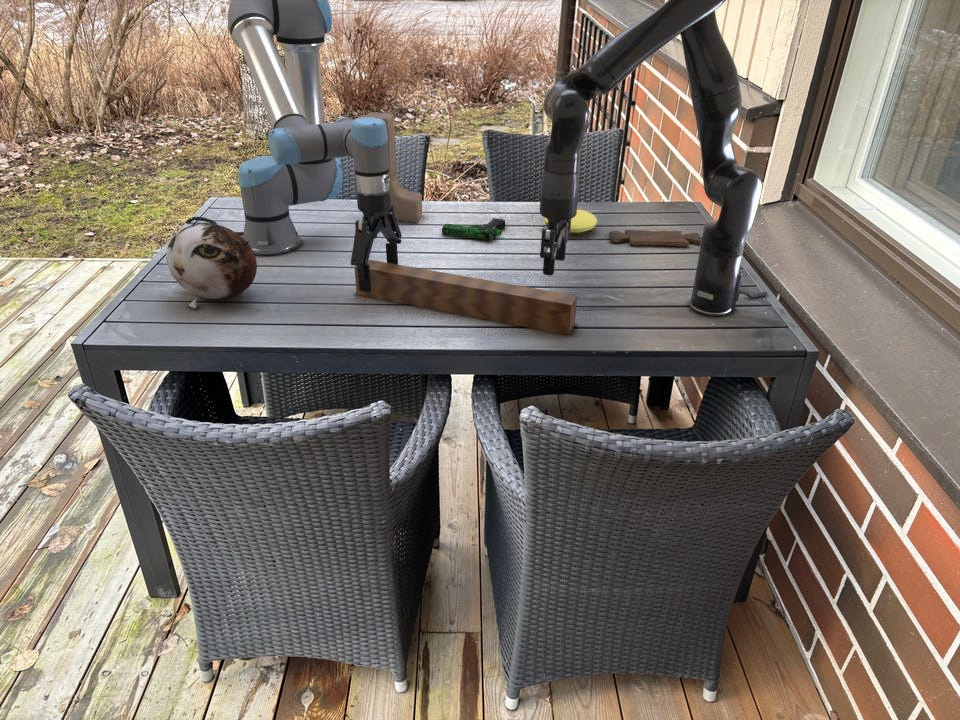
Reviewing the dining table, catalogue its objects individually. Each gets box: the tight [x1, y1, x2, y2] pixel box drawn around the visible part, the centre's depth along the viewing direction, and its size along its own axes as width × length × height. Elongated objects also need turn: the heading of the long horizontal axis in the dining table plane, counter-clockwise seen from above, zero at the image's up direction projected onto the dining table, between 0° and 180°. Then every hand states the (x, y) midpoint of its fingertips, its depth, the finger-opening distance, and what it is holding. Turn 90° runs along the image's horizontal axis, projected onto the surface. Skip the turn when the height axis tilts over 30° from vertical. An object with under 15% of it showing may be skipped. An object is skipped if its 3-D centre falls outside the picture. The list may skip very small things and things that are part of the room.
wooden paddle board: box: [608, 229, 701, 247], centre depth 204 cm, size 26×2×10 cm
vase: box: [543, 208, 598, 234], centre depth 209 cm, size 16×16×7 cm
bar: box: [353, 259, 578, 336], centre depth 163 cm, size 52×5×7 cm, turn 69°
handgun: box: [441, 217, 506, 242], centre depth 207 cm, size 16×3×15 cm
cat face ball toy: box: [165, 222, 258, 309], centre depth 165 cm, size 22×18×20 cm
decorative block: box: [362, 111, 423, 223], centre depth 209 cm, size 8×15×30 cm, turn 82°
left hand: (379, 279), depth 169 cm, fingers open, 13 cm apart
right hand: (554, 267), depth 151 cm, fingers open, 8 cm apart
